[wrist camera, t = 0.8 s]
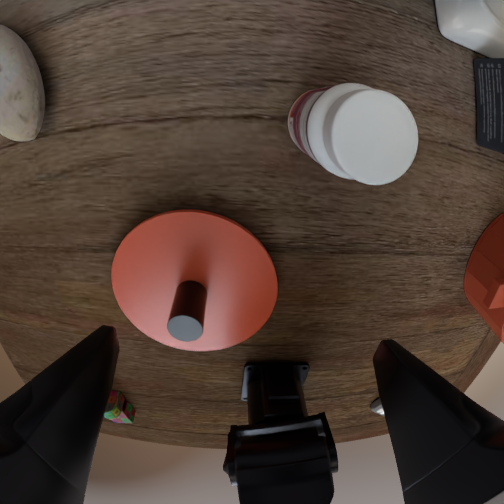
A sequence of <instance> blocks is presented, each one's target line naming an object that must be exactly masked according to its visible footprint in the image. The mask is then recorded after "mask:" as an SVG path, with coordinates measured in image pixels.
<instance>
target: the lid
mask: <svg viewBox="0 0 504 504" xmlns="http://www.w3.org/2000/svg"><path fill="white" fill-rule="evenodd" d="M111 279H112V287H113V291H114V294H115V297H116V299H117V302H118V304H119V306H120V308H121V309H122V311H123V312H124V314H125V315H126V316H127V318H128V319H129V320H130V321H131V322H132V323H133V324H134V325H135V326H136V327H137V328H138V329H139V330H141V331H142V332H143V333H145V334H146V335H148V336H149V337H151V338H153V339H154V340H156V341H158V342H160V343H163V344H165V345H168V346H171V347H174V348H178V349H183V350H190V351H214V350H219V349H224V348H228V347H231V346H234V345H236V344H239V343H241V342H242V341H244V340H246V339H248V338H249V337H251V336H252V335H254V334H255V333H256V332H257V331H258V330H259V329H260V328H261V327H262V326H263V325H264V324H265V323H266V321H267V320H268V318H269V317H270V315H271V313H272V311H273V309H274V306H275V303H276V299H277V292H278V283H277V276H276V271H275V267H274V264H273V262H272V259H271V257H270V255H269V254H268V252H267V250H266V248H265V247H264V246H263V245H262V243H261V242H260V241H259V240H258V239H257V238H256V237H255V236H254V235H253V234H252V233H251V232H250V231H249V230H247V229H246V228H245V227H243V226H242V225H240V224H239V223H237V222H235V221H233V220H231V219H229V218H227V217H224V216H222V215H219V214H216V213H212V212H208V211H203V210H194V209H180V210H173V211H167V212H163V213H160V214H157V215H154V216H152V217H150V218H148V219H146V220H144V221H143V222H141V223H140V224H138V225H137V226H136V227H134V228H133V229H132V230H131V231H130V232H129V233H128V234H127V236H126V237H125V238H124V239H123V241H122V242H121V244H120V245H119V247H118V249H117V251H116V254H115V256H114V259H113V264H112V273H111Z"/></svg>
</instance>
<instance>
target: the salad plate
mask: <svg viewBox="0 0 504 504" xmlns="http://www.w3.org/2000/svg"><path fill="white" fill-rule="evenodd" d="M435 6H436V14H437V22H438V27H439V30H440V32H441V34H442V35H443V36H444V37H445V38H447V39H449V40H451V41H453V42H455V43H458V44H460V45H462V46H465V47H467V48H469V49H472V50H474V51H476V52H478V53H480V54H483V55H485V56H487V57H489V58H504V1H503V0H435Z"/></svg>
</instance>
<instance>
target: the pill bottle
mask: <svg viewBox="0 0 504 504" xmlns="http://www.w3.org/2000/svg"><path fill="white" fill-rule="evenodd" d="M288 128H289V132H290V136H291V138H292V140H293V141H294V143H295V144H296V145H297V146H298V148H299V149H300V150H302V151H303V152H304V153H305V154H307V155H308V156H309V157H310V158H312V159H313V160H315V161H316V162H317V163H318V164H320V165H321V166H322V167H323V168H324V169H326V170H327V171H329V172H331V173H333V174H335V175H337V176H339V177H342V178H346V179H354V180H357V181H359V182H362V183H365V184H369V185H382V184H387V183H390V182H392V181H394V180H396V179H398V178H399V177H400V176H402V175H403V174H404V173H405V172H406V171H407V169H408V168H409V167H410V165H411V164H412V162H413V160H414V158H415V155H416V151H417V146H418V131H417V126H416V122H415V120H414V117H413V115H412V113H411V112H410V110H409V108H408V107H407V106H406V105H405V104H404V103H403V102H402V101H401V100H400V99H399V98H397V97H396V96H394V95H393V94H391V93H388V92H386V91H383V90H378V89H373V88H371V87H369V86H366V85H363V84H358V83H343V84H338V85H333V86H328V87H323V88H319V89H314V90H310V91H308V92H306V93H304V94H302V95H301V96H300V97H299V98H298V99H297V100H296V101H295V102H294V104H293V105H292V107H291V109H290V112H289V115H288Z"/></svg>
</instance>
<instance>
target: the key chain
mask: <svg viewBox="0 0 504 504" xmlns="http://www.w3.org/2000/svg"><path fill="white" fill-rule="evenodd" d="M370 407H371V410H372V411H373V412H375V413H378V414H380V415H382V416H385V415H384V411H383V408H382V404H381V400H380V398H379V399H378V400H376V401H375V402H373V403H372V404H371V406H370Z"/></svg>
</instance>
